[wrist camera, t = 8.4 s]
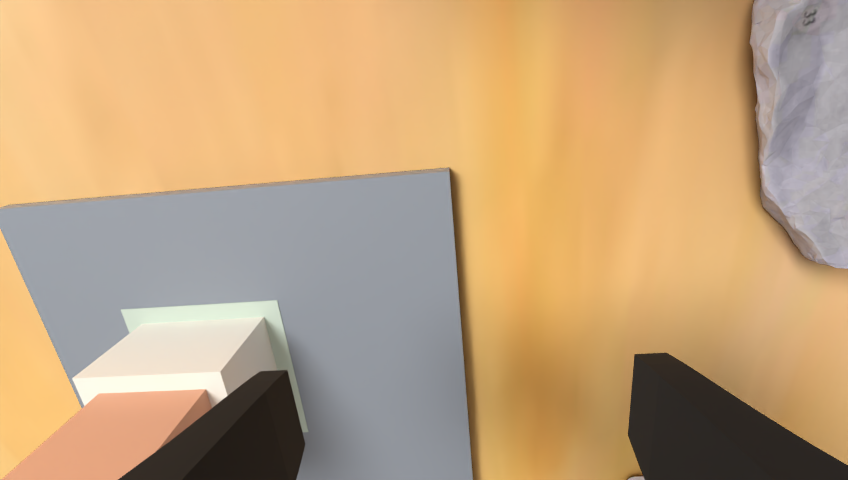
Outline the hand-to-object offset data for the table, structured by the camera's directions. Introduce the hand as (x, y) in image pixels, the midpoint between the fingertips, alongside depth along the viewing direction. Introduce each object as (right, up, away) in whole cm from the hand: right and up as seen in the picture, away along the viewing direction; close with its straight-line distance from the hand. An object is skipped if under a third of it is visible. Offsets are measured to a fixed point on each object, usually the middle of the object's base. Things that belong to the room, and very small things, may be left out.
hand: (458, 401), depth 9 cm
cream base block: (-11, -3, +12) cm, 16 cm away
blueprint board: (-8, -6, +14) cm, 17 cm away
